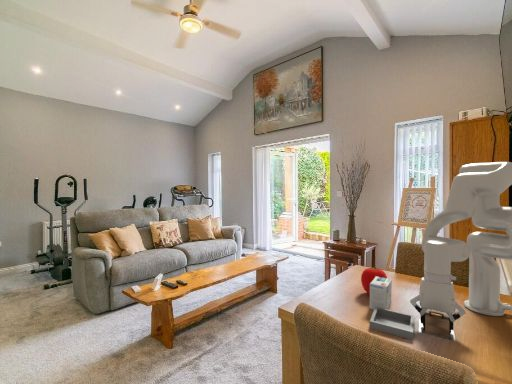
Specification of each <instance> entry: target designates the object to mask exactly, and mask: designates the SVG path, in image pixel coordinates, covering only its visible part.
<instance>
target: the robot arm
mask: <svg viewBox="0 0 512 384" xmlns="http://www.w3.org/2000/svg"><path fill="white" fill-rule="evenodd" d="M510 186H512V162H511V161H495V162H477V163H475V162H474V163H468V164H464V165H462V166H461V167H460V168H459V169H458V174H457V175H456V176H454V178H453V179H452V182H451V185H450V190H449V192H448V196H447V200H446V204H445V208H444V210H442V211H441V212H439V213H438V214H436V215H435V216H433V218H432V219H431V220H430V221H429V222H428V223H427V224H426V226H425V228H424V231H423V236H422V239H421V240H422V241H421V250H422V252H423V253H424V255H423V257H424V258H423V263H424V264H423V277H421V279H420V283H419V293H418V294H417V296H414V297H412V298H411V299H410V300H409V303H410V305H412V307H413V308H414V309H415V310H416V311H417V312H418V313H419V315H420V320H421V323H423V327H425V312H426V310H427V309H428V310H433V311H438V312H443V313H447V315H448V318H449V333H451V330H454V322H455V321H456V320H459V319H460V318H461V317H463V316H465V315H466V314H467V312H466V310H465V309H464V307H466V309H468V310H470V311H472V312H475V313H476V314H477V313H478V314H481V315H486V316H492V317H503V316H505V314H506V311H510V312H511V311H512V305H511V304H510V303H506V302H505V303H504V302H502V301H501V300H500V298H501V297H500V295H501V294H500V293H501V291H500V290H501V268H500V265H499V263H498V262H497V260H495V258H496V259H500V260H503V261H504V260H506V261H509V262H510V261H511V262H512V206H501V204H500V203H501V202H500V198H501V194H502V193H504V192H505V191H506V190H507V189H508V188H509V187H510ZM470 218H471V223H472V225H473V226H474V227H475V228H479V229H483V230H489V231H490V230H491V231H498V232H499V231H501V232H505V233H506V234H501V233H497V232H496V233H495V232H488V231H487V232H485V231H475V232H474V231H473V232H471V233H469V234H468V235H467V238H466V242H465V241H463V240H460V239H455V238H449V237H442V236H439V235H438V234H439V232H440V231H441V230H442V229H443V228H444V227H446V226H448V225H451V224H453V223H454V224H455V223H457V222H459V221H460V222H461V221H464V220H467V219H470ZM467 259H469V263H468V265H469V267H468V269H469V270H468V271H469V273H468V299H465V300H464V301H463V305H464V307H462V306H461V305H460V304H459V303H458V302H457V301H456V294H455V286H454V283H453V281H457V276H456V275H455V276H454V275H452V272H451V271H452V270H451V269H452V266H451V265H452V262H453V263H454V262H455V263H460V262H465V261H467ZM417 302H419V304H418V303H417ZM456 309H457V310H458V311H456ZM505 310H506V311H505Z"/></svg>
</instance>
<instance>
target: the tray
mask: <svg viewBox="0 0 512 384" xmlns="http://www.w3.org/2000/svg"><path fill="white" fill-rule="evenodd" d="M369 329H371V330H375V331H378V332H382V333H386V334H389V335H391V336H397V337H401V338H404V339H407V340H410V341H414V333H415V332H414V331H415V315H414V314H409V313H406V312H401V311H396V310H392V309H389V308H388V309H384V308H380V307H375V309H373V311H372V314H371V317H370V320H369Z"/></svg>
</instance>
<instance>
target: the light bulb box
mask: <svg viewBox="0 0 512 384" xmlns="http://www.w3.org/2000/svg"><path fill="white" fill-rule="evenodd" d="M392 285H393V284H392V278H388V277H387V278H382V277H377V276H376V277H375V278H374V279H373V281H372V282H371V283H370V294H369V309H371V310H374V309H375V307H380V308H384V309H388V310H389V307H390V305H391V303H392V289H393V288H392V287H393V286H392Z"/></svg>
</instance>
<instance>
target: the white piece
mask: <svg viewBox="0 0 512 384" xmlns="http://www.w3.org/2000/svg"><path fill="white" fill-rule="evenodd" d="M431 316H432V317H436V318H442V315H439V314H434V313H431ZM418 333H421V334H425V335H429V336H433V337H437V338H440V339H444V340H448V341H453V342H456V336H455V331H454V329H453V330H451V333H449V337H448V336H443V335H439V334H435V333H431V332H427V331H425V327H423V323H421V318H419V319H418Z"/></svg>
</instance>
